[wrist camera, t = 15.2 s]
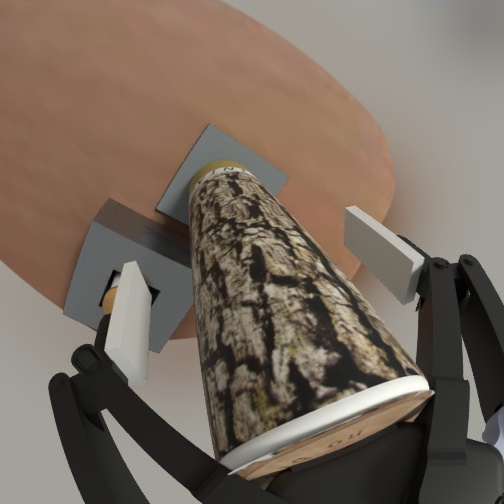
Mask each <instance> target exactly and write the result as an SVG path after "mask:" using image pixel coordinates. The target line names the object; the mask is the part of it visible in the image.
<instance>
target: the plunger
mask: <svg viewBox="0 0 504 504" xmlns="http://www.w3.org/2000/svg"><path fill="white" fill-rule="evenodd" d="M121 274H122V273H120V272H118V271H116V272H115V275H114V278H113V282H112V285H111V288H110V289H109V290H108V291H107V293H106V294H105V297H104V300H103V311H104V313H105V315H106V314H110V313H112V310H113V305H114V301H115V297H116V293H117V289H118V285H119V281H120V277H121ZM146 285H147V284H146ZM147 287H148V289H149V287H150V286H149V285H147Z"/></svg>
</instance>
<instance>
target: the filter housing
mask: <svg viewBox="0 0 504 504" xmlns="http://www.w3.org/2000/svg"><path fill="white" fill-rule="evenodd" d="M132 261H136V262H137V264H138V267H139V269H140V271H141V274H142V276H143V278H144V280H145V283H146V284H147V285H149V286H150V287H149V291H150V294H151V296H152V299H151V312H150V328H149V350H151V351H153V352H156V353H160V351H161V350H162V348H163V347H164V345H165V344H166V343H167V341H168V340H169V338H170V337H171V335H172V334H173V332H174V331H175V329H176V328H177V327H178V325H179V324H180V322H181V321H182V319H183V318H184V316H185V315H186V314H187V312H188V311H189V309H190V308H191V306H192V305H193V303H194V296H193V282H192V267H191V250H190V240H189V239H188V238H186V237H184V236H182V235H180V234H178V233H176V232H174V231H172V230H170V229H168V228H166V227H164V226H162V225H160V224H158V223H156V222H154V221H152V220H150V219H149V218H147V217H145V216H143V215H141V214H139V213H137V212H135V211H133V210H131V209H129V208H127V207H125V206H124V205H122V204H120V203H118V202H116V201H114V200H112V199H110V198H109V199H108V200H107V202H106V203H105V204H104V206H103V207H102V208H101V210H100V211H99V212H98V214H97V215H96V216H95V218H94V219H93V221H92V223H91V226H90V228H89V231H88V233H87V236H86V239H85V241H84V244H83V247H82V250H81V253H80V256H79V259H78V262H77V265H76V268H75V271H74V274H73V277H72V281H71V284H70V288H69V291H68V295H67V299H66V302H65V306H64V310H63V314H64V315H66V316H68V317H70V318H72V319H74V320H76V321H78V322H80V323H83V324H85V325H87V326H89V327H92V328H94V329H96V330H98V326H99V322H100V321H101V319H102V318H103V316H104V315H105V313H104V311H103V300H104V297H105V294H106V293H107V291H108V290H109V289H110V288H111V285H112V282H113V278H114V275H112V274H111V273H112V271H113V269H114V270H116V271H118V272H120V273H122V270H123V267H124V264H125V263H128V262H132Z"/></svg>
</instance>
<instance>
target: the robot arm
mask: <svg viewBox="0 0 504 504" xmlns="http://www.w3.org/2000/svg"><path fill="white" fill-rule="evenodd" d="M344 245H345V246H346V247H347V248H348V249H349V250H350V251H351V252H352V253H353V254H354V255H355V256H356V257H357V258H358V259H359V260H360V261H361V262H362V263H363V264H364V265H365V266H366V267H367V268H368V269H369V270H370V271H371V272H372V273H373V274H374V275H375V276H376V277H377V278H378V279H379V280H380V281H381V282H382V283H383V284H384V285H385V286H386V287H387V289H389V291H390V292H391V293H392V294H393V295H394V296H395V297H396V298H397V299H398V300H399V301H400V302H401V303H402V304H403V305H405V304H407V303H409V302H411V301H413V300H414V297H415V293H416V292H417V293H418V294H419V295H420V298H419V301H418V304H417V307H416V311H417V310H418V308H419V313H418V340H417V354H416V365H417V366H418V368H419V369H420V370H421V372H422V373H423V375H424V376H425V377H426V379H427V381H428V386H429V390H433V391H434V392H435V394H434V395H433V396H432V398H431V399H430V400H429V402H428V403H427V404H426V406H425V407H424V408H423V409H422V411H421V412H420V413H419V415H418V416H417V417H416V418H415V419H414V421H413V422H399V423H396V424H395V423H393V424H392V425H390V426H388V427H386V428H384V429H382V430H380V431H378V432H376V433H374V434H372V435H370V436H368V437H366V438H364V439H362V440H359V441H357V442H355V443H354V444H352V445H351V446H350V447H348V448H346V449H341V450H336V451H333V452H331V453H328V454H325V455H323V456H320V457H317V458H314V459H311V460H308V461H305V462H302V463H299V464H296V465H292V466H290V467H291V468H288V469H286V470H284V471H282V472H281V473H280V474H278V475H277V476H276V477H275V478H274V479H273V480H272V481H271V482H270V483H269V485H268V486H267V487H266V489H265V490H264V489H262V488H260V487H258V486H256V485H255V484H253V483H251V482H250V481H248V480H246V479H245V478H243V477H241V476H240V475H238V474H230V475H228V474H229V473H230V472H232V470H230V469H229V468H227V467H225V466H224V465H222V464H221V463H218V462H217V461H216V460H214V459H213V458H211V457H210V456H209V455H207V454H206V453H205V452H203V451H202V450H200V449H199V448H198V447H196V446H195V445H194V444H193V443H191V442H190V441H188V440H187V439H186V438H185V437H184V436H182V435H181V434H180V433H179V432H178V431H176V430H175V429H174V428H173V427H171V426H170V425H169V424H168V423H167V422H166V421H165V420H163V419H162V418H161V417H160V416H159V415H158V414H157V413H156V412H154V411H153V410H152V409H151V408H150V407H149V406H148V405H147V404H146V403H145V402H144V401H143V400H142V399H141V398H140V397H139V396H138V395H137V394H136V393H135V392H134V391H133V390H132V389H131V388H130V387H129V386H128V380H129V381H130V383H131V384H132V385H133V386H138V385H145V384H148V351H149V328H150V312H151V299H152V296H151V294H150V291H149V289H148V287H147V285H146V283H145V280H144V278H143V276H142V274H141V271H140V269H139V267H138V264H137V262H136V261H132V262H128V263H125V264H124V267H123V270H122V274H121V277H120V281H119V285H118V289H117V293H116V297H115V301H114V305H113V310H112V313H110V314H106V315H104V316H103V318H102V319H101V321H100V322H99V326H98V331H97V335H96V339H95V344H94V346H93V345H91V344H84V345H81V346H80V347H79V348H77V349H76V350H75V351H74V353H73V355H72V358H71V362H72V365H73V366H74V367H75V368H76V369H77V371H78V372H79V374H77V375H74V376H72V377H69V376H68V375H67V374H65V373H58V374H56V375H54V376H53V377H52V379H51V380H50V382H49V387H48V390H49V395H50V400H51V405H52V409H53V413H54V418H55V422H56V426H57V429H58V433H59V436H60V440H61V443H62V446H63V449H64V452H65V455H66V458H67V461H68V464H69V467H70V469H71V472H72V475H73V477H74V480H75V482H76V484H77V487H78V489H79V491H80V494H81V496H82V498H83V500H84V502H85V504H150V503H149V502H148V500H147V499H146V497H145V495H144V494H143V492H142V491H141V489H140V488H139V486H138V485H137V483H136V481H135V479H134V478H133V476H132V474H131V473H130V471H129V469H128V468H127V465H126V464H125V462H124V460H123V458H122V456H121V454H120V452H119V450H118V448H117V446H116V444H115V442H114V440H113V438H112V436H111V434H110V432H109V430H108V427H107V425H106V423H105V421H104V418H103V416H102V413H101V411H102V410H104V409H106V408H107V409H108V411H109V412H110V413H111V414H112V416H113V417H114V418H115V419H116V420H117V421H118V423H119V424H120V425H121V426H122V427H123V428H124V430H125V431H126V432H127V433H128V434H129V435H130V436H131V437H132V438H133V439H134V440H135V441H136V442H137V443H138V444H139V446H140V447H141V448H142V449H143V450H144V451H145V452H146V453H147V454H148V455H149V456H150V457H151V458H152V459H153V460H155V461H156V462H157V463H158V464H159V465H160V466H161V467H162V468H163V469H164V470H166V471H167V472H168V473H169V474H170V475H171V476H172V477H173V478H175V479H176V480H177V481H178V482H179V483H181V484H182V485H183V486H184V487H185V488H187V489H188V490H189V491H190V492H191V494H192V495H193V496H194V497H195V498H196V499H197V500H198V501H200V502H201V503H202V504H504V305H503V303H502V301H501V299H500V297H499V295H498V294H497V292H496V290H495V288H494V286H493V285H492V283H491V281H490V279H489V278H488V276H487V275H486V273H485V271H484V269H483V268H482V266H481V265H480V263H479V262H478V260H477V259H476V258H474V257H473V256H471V255H467V254H464V255H461V256H460V258H459V261H458V263H453V264H450V263H449V262H448V261H447V260H445V259H443V258H439V257H435V258H431V257H430V256H429V255H427V254H426V253H425V252H424V251H422V250H421V249H420V248H418V247H416V245H415V244H413V243H412V242H411V241H409V240H408V239H407V238H405V237H402V236H400V235H395V234H393V233H392V232H391V231H389V230H388V229H387V228H385V227H384V226H383V225H381V224H380V223H379V222H377V221H376V220H374V219H373V218H372V217H370V216H369V215H367V214H366V213H365V212H363V211H362V210H360V209H359V208H357V207H356V206H351V207H346V208H345V233H344ZM469 292H470V295H469ZM461 335H462V337H461ZM462 338H463V341H464V344H465V347H466V350H467V353H468V357H469V361H470V364H471V368H472V372H473V376H474V380H475V383H476V388H477V393H478V397H479V402H480V407H481V411H482V414H483V417H484V420H485V423H486V428H485V431H484V432H483V434H482V439H483V441H485V442H487V443H483V442H479V441H475V440H472V439H468V438H467V431H468V419H469V399H470V385H469V382H468V380H464V379H463V355H462V354H463V353H462Z"/></svg>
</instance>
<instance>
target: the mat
mask: <svg viewBox="0 0 504 504" xmlns="http://www.w3.org/2000/svg"><path fill="white" fill-rule="evenodd" d="M219 160H229V161H234V162H237V163H239V164H241V165H243V166H244V167H245V168H247V169H248V170H249V171H250V172H251V173H252V174H253V175H254V176H255V177H256V178H257V179H258V181H260V182H261V183H262V184H263V185H264V186H265V187H266V188H267V189H268V190H269V191H270V193H271V194H272V195H273V196H274V197H275V196H276V195H277V193H278V192H279V191H280V189H281V188H282V187H283V185H284V184H285V183H286V181H287V180H288V179H289V177H288V176H287V175H285V174H284V173H283V172H281V171H280V170H279V169H277V168H276V167H274V166H273V165H272V164H270V163H269V162H267V161H266V160H264V159H263V158H262V157H260V156H259V155H257V154H256V153H254V152H253V151H251V150H250V149H248V148H247V147H245V146H244V145H242V144H241V143H239V142H238V141H236V140H235V139H233V138H232V137H230V136H229V135H227V134H226V133H224V132H222V131H221V130H219V129H218V128H216V127H215V126H213V125H211V124H210V123H209V125H208V126H207V128H206V129H205V131H204V132H203V133H202V135H201V136H200V138H199V139H198V141H197V142H196V144H195V145H194V147H193V148H192V150H191V151H190V153H189V154H188V156H187V158H186V159H185V161H184V162H183V164H182V165H181V167H180V169H179V170H178V172H177V173H176V175H175V177H174V178H173V180H172V182H171V183H170V185H169V187H168V188H167V190H166V192H165V193H164V195H163V197H162V199H161V200H160V202H159V204H158V206H157V208H156V209H158V210H159V211H161V212H163V213H165V214H167V215H169V216H171V217H173V218H175V219H177V220H178V221H180V222H182V223H184V224H186V225H188V226H189V188H190V184H191V182H192V179H193V178H194V176H195V175H196V173H197V172H198V171H199V170H200V169H201V168H202V167H204V166H205V165H207V164H209V163H212V162H215V161H219Z"/></svg>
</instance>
